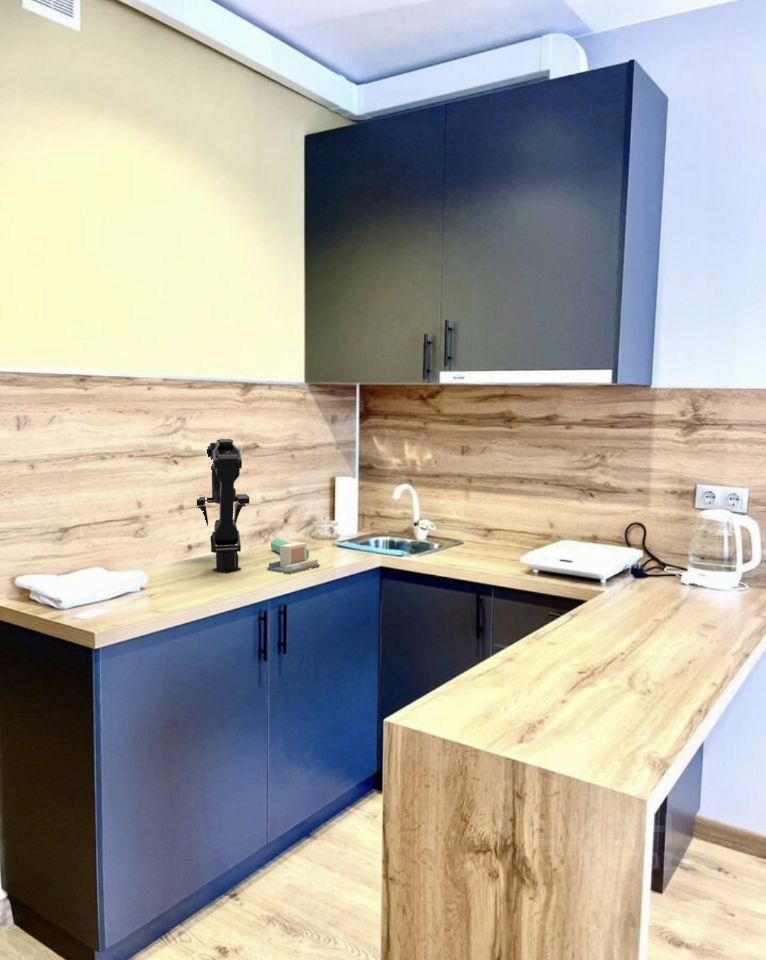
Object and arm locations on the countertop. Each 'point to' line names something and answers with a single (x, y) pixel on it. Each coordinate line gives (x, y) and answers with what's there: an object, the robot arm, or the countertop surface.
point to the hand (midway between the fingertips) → (221, 525)
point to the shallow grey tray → (293, 566)
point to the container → (278, 542)
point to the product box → (292, 553)
